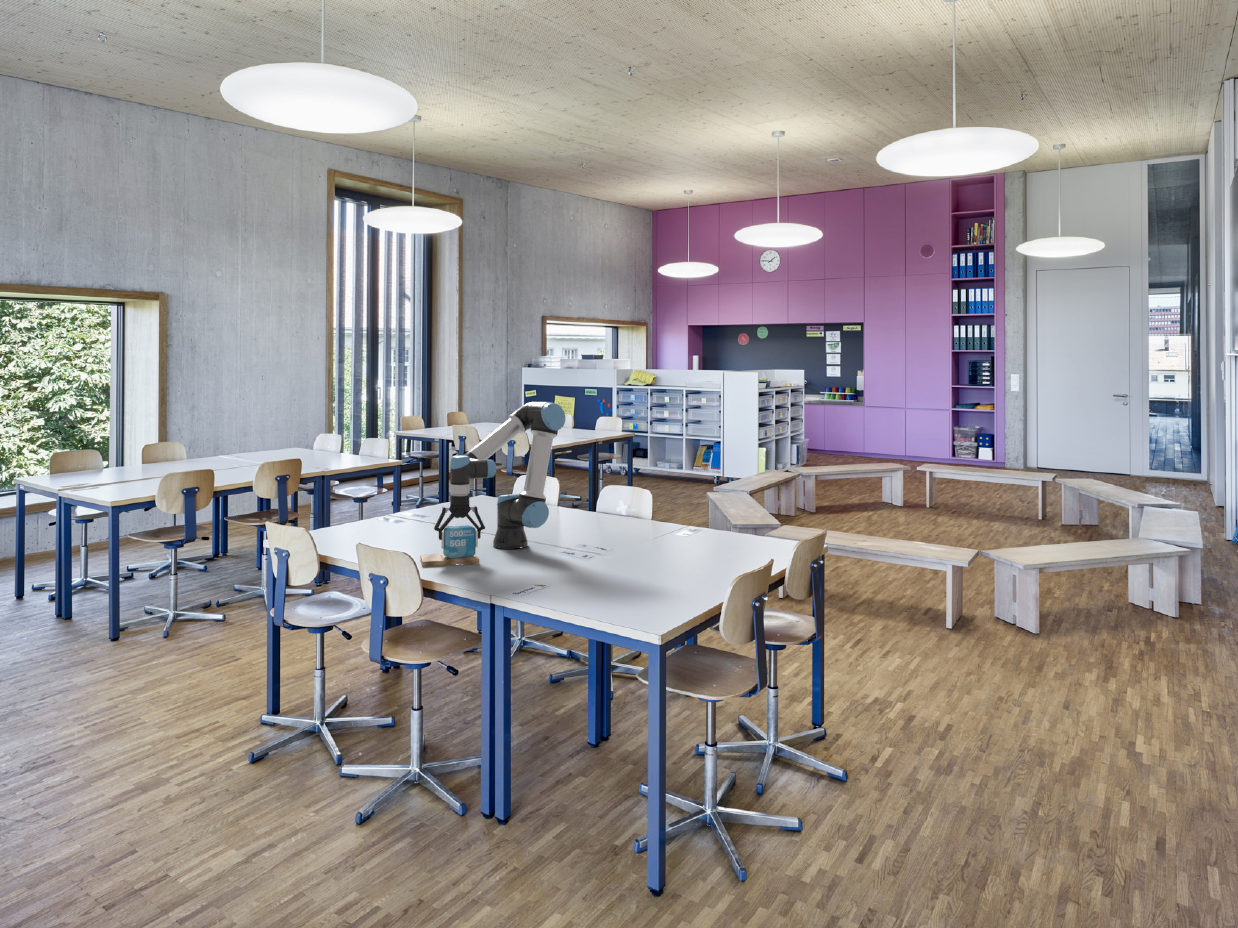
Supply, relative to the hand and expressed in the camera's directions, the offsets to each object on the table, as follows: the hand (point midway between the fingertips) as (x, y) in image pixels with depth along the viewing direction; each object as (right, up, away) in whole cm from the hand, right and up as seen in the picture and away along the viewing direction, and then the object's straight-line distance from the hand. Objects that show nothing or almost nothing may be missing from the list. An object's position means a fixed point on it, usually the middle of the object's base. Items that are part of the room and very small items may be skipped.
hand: (459, 547), depth 334 cm
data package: (0, -4, 0) cm, 4 cm away
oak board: (-4, -6, -1) cm, 7 cm away
